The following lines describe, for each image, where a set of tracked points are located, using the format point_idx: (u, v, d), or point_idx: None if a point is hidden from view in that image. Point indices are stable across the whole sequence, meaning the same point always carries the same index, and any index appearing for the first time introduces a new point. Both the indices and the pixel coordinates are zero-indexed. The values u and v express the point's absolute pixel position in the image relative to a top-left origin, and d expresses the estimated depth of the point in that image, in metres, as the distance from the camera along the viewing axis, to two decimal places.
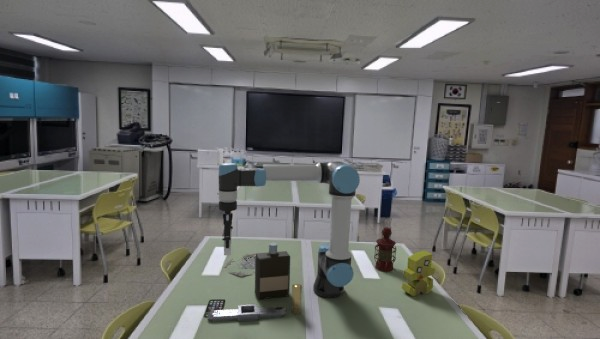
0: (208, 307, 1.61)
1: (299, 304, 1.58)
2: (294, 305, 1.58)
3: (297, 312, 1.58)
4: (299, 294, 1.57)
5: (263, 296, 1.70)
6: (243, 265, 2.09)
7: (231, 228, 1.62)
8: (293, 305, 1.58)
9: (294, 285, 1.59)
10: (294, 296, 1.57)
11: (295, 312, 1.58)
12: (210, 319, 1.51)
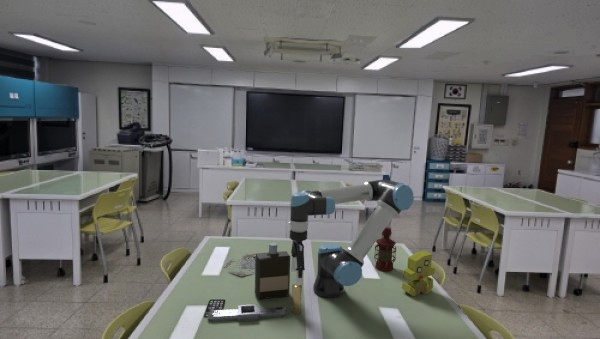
0: (208, 307, 1.61)
1: (299, 304, 1.58)
2: (294, 305, 1.58)
3: (297, 312, 1.58)
4: (299, 294, 1.57)
5: (263, 296, 1.70)
6: (243, 265, 2.09)
7: None
8: (293, 305, 1.58)
9: (294, 285, 1.59)
10: (294, 296, 1.57)
11: (295, 312, 1.58)
12: (210, 319, 1.51)
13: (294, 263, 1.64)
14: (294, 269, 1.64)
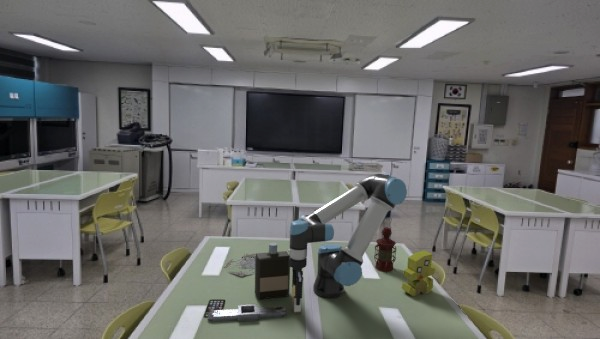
0: (208, 307, 1.61)
1: None
2: None
3: (297, 312, 1.58)
4: None
5: (263, 296, 1.70)
6: (243, 265, 2.09)
7: None
8: (293, 305, 1.58)
9: (294, 285, 1.59)
10: None
11: (295, 312, 1.58)
12: (210, 319, 1.51)
13: None
14: None
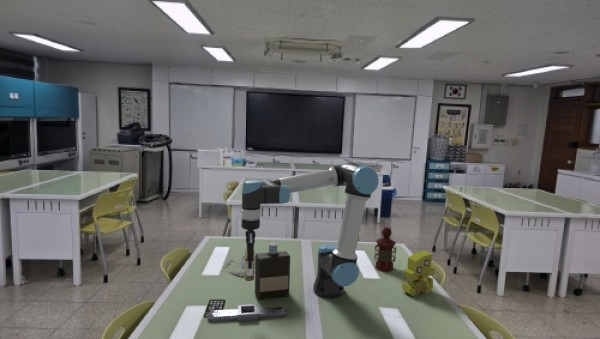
0: (208, 307, 1.61)
1: None
2: None
3: (249, 279, 1.51)
4: None
5: (263, 296, 1.70)
6: (243, 265, 2.09)
7: None
8: (245, 271, 1.52)
9: None
10: (246, 262, 1.51)
11: (247, 279, 1.51)
12: (210, 319, 1.51)
13: None
14: None
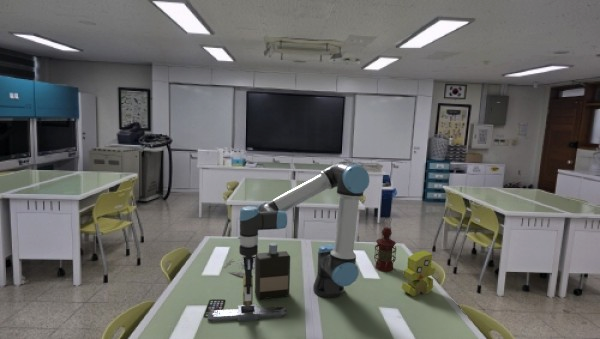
0: (208, 307, 1.61)
1: None
2: (244, 297, 1.53)
3: (248, 304, 1.53)
4: None
5: (263, 296, 1.70)
6: (243, 265, 2.09)
7: None
8: (244, 297, 1.53)
9: None
10: None
11: (246, 304, 1.53)
12: (210, 319, 1.51)
13: None
14: None
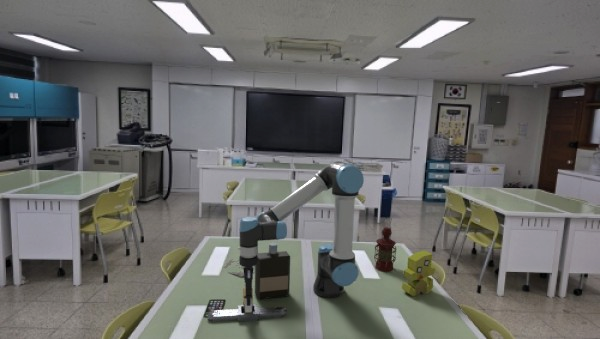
0: (208, 307, 1.61)
1: None
2: (244, 309, 1.53)
3: None
4: None
5: (263, 296, 1.70)
6: None
7: None
8: (244, 309, 1.54)
9: (245, 288, 1.54)
10: (244, 300, 1.53)
11: None
12: (210, 319, 1.51)
13: None
14: None
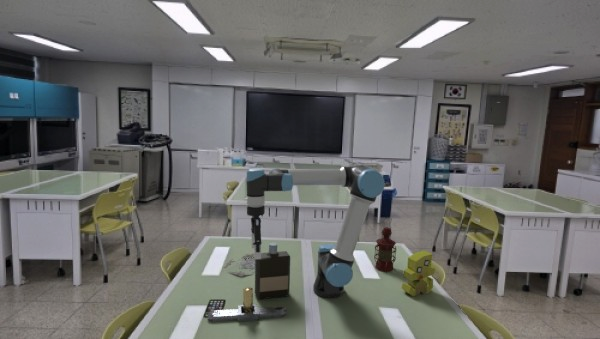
0: (208, 307, 1.61)
1: (250, 308, 1.54)
2: (244, 309, 1.53)
3: None
4: (250, 298, 1.53)
5: (263, 296, 1.70)
6: (243, 265, 2.09)
7: None
8: (244, 309, 1.54)
9: (245, 288, 1.54)
10: (245, 300, 1.53)
11: None
12: (210, 319, 1.51)
13: (254, 240, 1.65)
14: None
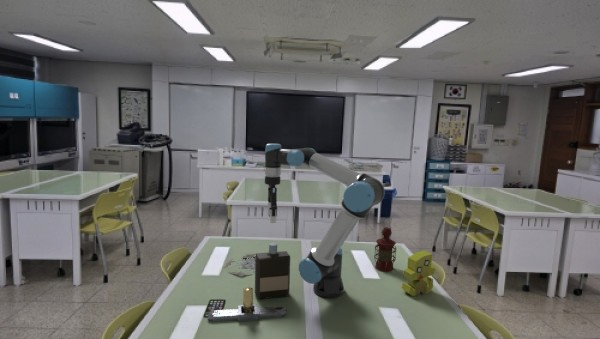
0: (208, 307, 1.61)
1: (250, 308, 1.54)
2: (244, 309, 1.53)
3: None
4: (250, 298, 1.53)
5: (263, 296, 1.70)
6: (243, 265, 2.09)
7: None
8: (244, 309, 1.54)
9: (245, 288, 1.54)
10: (245, 300, 1.53)
11: None
12: (210, 319, 1.51)
13: (270, 208, 1.85)
14: None
